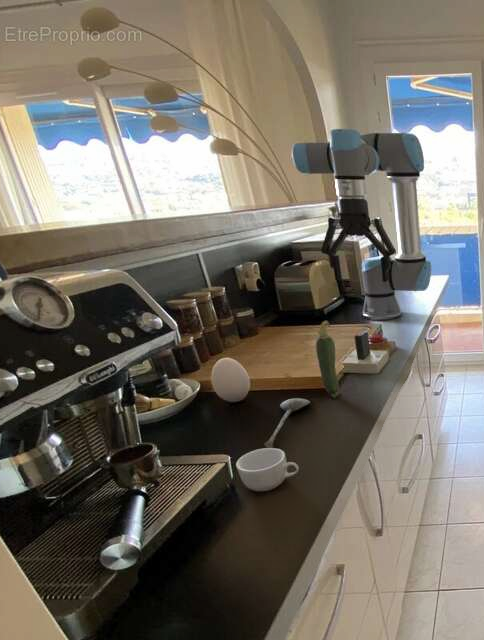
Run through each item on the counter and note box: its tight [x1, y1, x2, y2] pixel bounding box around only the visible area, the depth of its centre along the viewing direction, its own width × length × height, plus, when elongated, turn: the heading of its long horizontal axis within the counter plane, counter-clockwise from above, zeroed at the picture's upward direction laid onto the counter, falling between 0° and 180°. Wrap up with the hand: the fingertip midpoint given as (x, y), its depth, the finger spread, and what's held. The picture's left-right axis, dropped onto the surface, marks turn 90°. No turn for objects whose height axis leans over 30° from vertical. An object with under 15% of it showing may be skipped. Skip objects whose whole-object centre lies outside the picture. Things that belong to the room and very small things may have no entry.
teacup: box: [235, 447, 300, 492], centre depth 80 cm, size 10×8×5 cm
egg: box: [210, 357, 251, 403], centre depth 109 cm, size 8×8×11 cm
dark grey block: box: [354, 330, 370, 360], centre depth 131 cm, size 6×2×7 cm, turn 176°
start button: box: [369, 333, 384, 343], centre depth 142 cm, size 4×4×2 cm
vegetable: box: [315, 320, 340, 399], centre depth 111 cm, size 4×4×20 cm
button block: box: [369, 336, 397, 357], centre depth 144 cm, size 10×9×4 cm
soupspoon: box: [263, 397, 311, 448], centre depth 101 cm, size 22×3×7 cm
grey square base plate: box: [339, 349, 390, 374], centre depth 133 cm, size 11×11×3 cm
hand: (362, 280), depth 126 cm, fingers open, 13 cm apart
